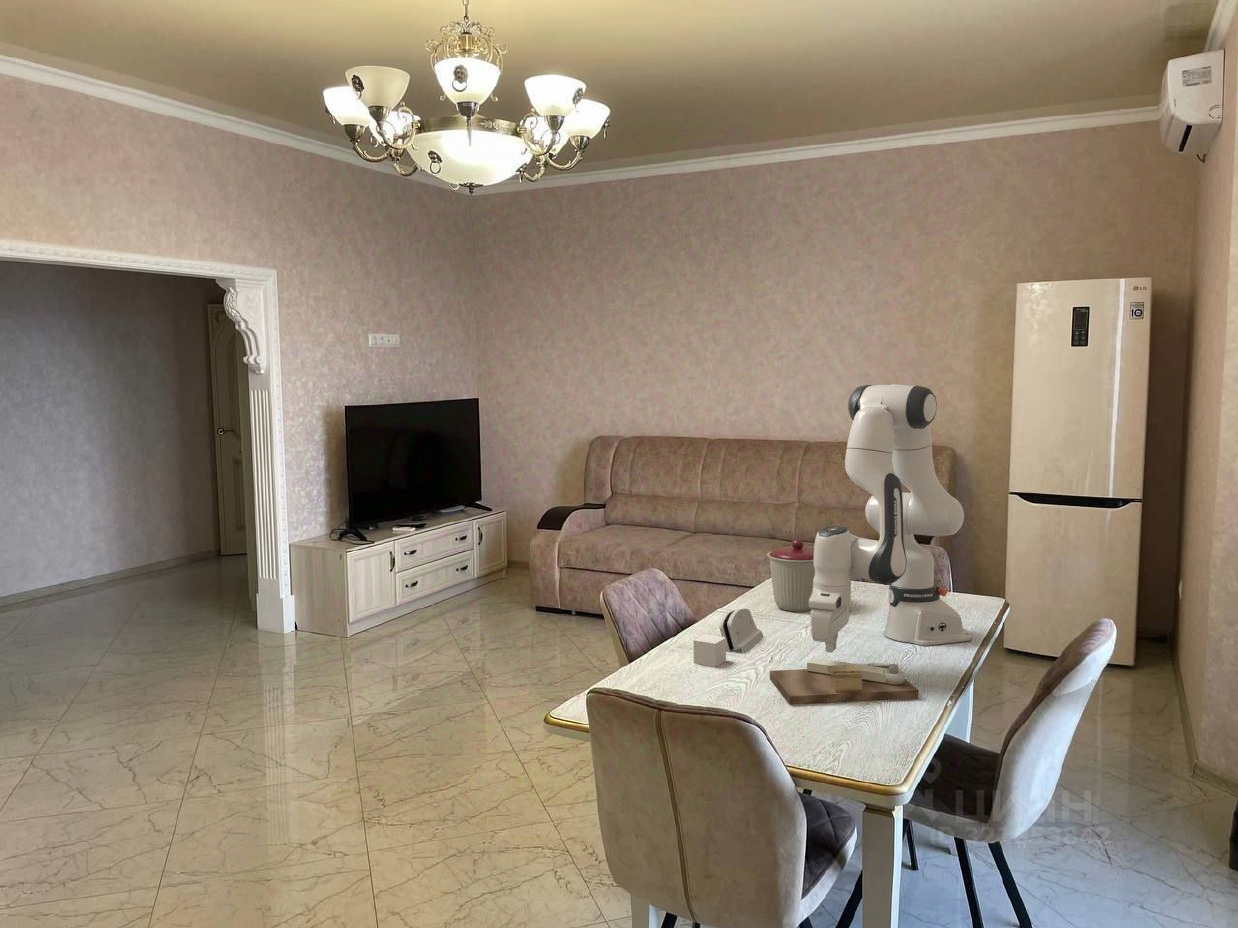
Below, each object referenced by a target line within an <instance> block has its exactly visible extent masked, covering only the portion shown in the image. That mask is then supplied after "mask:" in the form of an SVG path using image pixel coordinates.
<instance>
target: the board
mask: <svg viewBox="0 0 1238 928" xmlns="http://www.w3.org/2000/svg"><path fill="white" fill-rule="evenodd" d="M889 665H890V664H887V665H872V666H873V667H880V668H887V669H889ZM769 680H770V681H771V682H772V684H773V685H774V687H775V688H776V689H777V690H778V692H779V693H780V695H781V696H782V697H783V698H784V699H785V701H786V702H787V704H788V705H789V706H799V705H801V706H803V705H820V704H840V703H857V702H858V703H860V702H879V701H881V702H882V701H900V700H902V701H903V700H919V694H920V693H919V689H918V688H917V687H916V686H914V685H913V684H912V683H911V682H910V681H908V680H907V678H905V682H904V683H903V684H899V685H893V684H888V683H884V682H877V681H871V680H864V679H862V691H853V692H834V690H833V689H832V675H831V674H826V673H819V672H813V671H807V668H802V669H801V668H800V669H797V668H796V669H784V670H783V669H779V670H769Z"/></svg>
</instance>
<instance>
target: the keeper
mask: <svg viewBox="0 0 1238 928" xmlns="http://www.w3.org/2000/svg"><path fill="white" fill-rule="evenodd" d="M827 671H828V672H829V673H830V674H831V675H832V689H833V690H834V692H853V691H862V673H861V672H860V671H859V670H858V669H857V668H856V667H855V666H854V665H836V666H827Z"/></svg>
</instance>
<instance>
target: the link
mask: <svg viewBox="0 0 1238 928" xmlns="http://www.w3.org/2000/svg"><path fill="white" fill-rule="evenodd" d="M836 665H854V666H855V667H856V668H857V669H858V670H859V671H860V672H861V673H862V679H864V680H871V681H877V682H884V683H888V684H893V685H899V684H903V683H904V682H905V679H906V678H905V677H906V673H905V671H903V670H900V669H899V665H898V664H896V663H895V664H894V663H890V664H888V665H889V669H887V668H880V667H873V666H874V665H866V664H858V663H853V662H852V663H851V662H844V661H838V660H831V659H825V658H818V657H811V658H810V659H809V660H808V661H807V662H806V669H807V671H813V672H819V673H826V674H830V673H829V672H828V671H827V666H836Z"/></svg>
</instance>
